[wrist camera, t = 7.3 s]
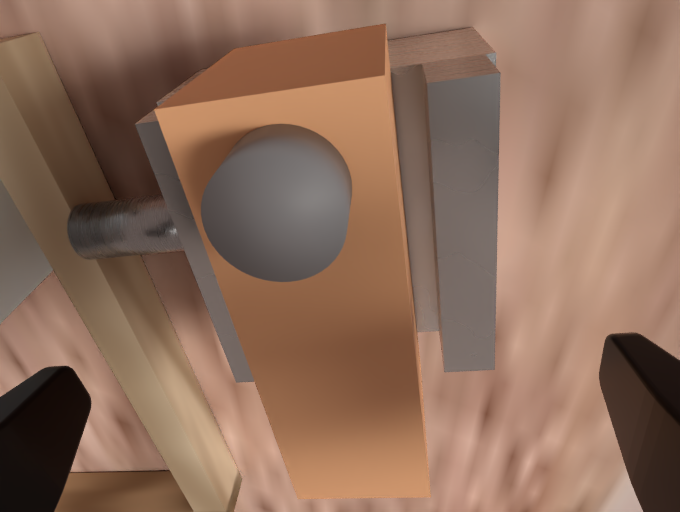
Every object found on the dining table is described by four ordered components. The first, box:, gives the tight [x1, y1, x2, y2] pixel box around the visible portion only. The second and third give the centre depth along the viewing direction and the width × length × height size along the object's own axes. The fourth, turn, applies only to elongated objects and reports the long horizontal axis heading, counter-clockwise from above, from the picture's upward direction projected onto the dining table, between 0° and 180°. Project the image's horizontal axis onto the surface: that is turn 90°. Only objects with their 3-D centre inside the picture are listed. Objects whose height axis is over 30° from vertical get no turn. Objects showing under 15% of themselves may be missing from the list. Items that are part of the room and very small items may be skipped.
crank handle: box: [154, 24, 431, 499], centre depth 10 cm, size 3×9×5 cm, turn 9°
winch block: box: [67, 27, 500, 382], centre depth 13 cm, size 11×7×4 cm, turn 99°
